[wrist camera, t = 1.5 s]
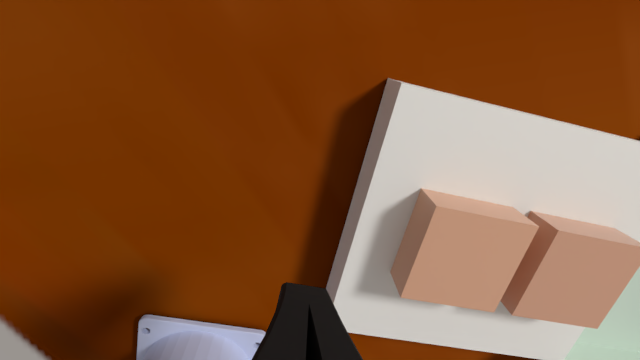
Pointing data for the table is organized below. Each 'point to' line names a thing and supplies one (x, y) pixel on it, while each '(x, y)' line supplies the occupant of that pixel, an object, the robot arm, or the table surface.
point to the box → (614, 330)
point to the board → (476, 183)
